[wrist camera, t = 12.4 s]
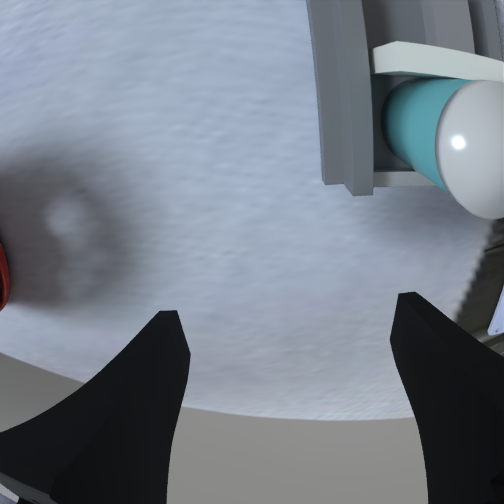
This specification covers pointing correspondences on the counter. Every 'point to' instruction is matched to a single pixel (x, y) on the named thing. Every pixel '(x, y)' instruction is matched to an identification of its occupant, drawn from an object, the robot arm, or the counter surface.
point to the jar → (451, 137)
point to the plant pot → (4, 279)
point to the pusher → (438, 48)
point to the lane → (370, 84)
